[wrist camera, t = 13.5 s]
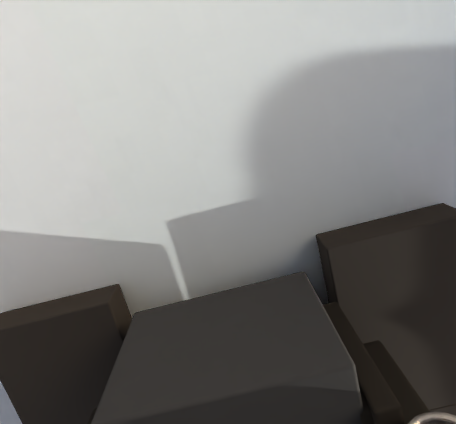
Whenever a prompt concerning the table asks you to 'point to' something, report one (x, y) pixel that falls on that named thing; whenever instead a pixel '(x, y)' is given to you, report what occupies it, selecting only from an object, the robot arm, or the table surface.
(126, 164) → the table surface
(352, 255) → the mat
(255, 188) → the table surface
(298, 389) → the dark block
